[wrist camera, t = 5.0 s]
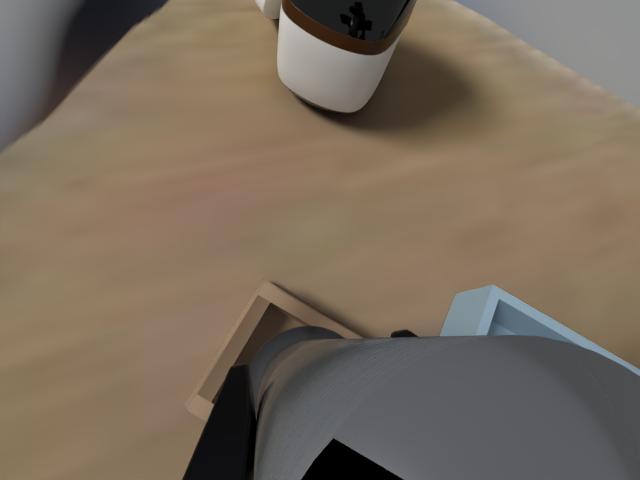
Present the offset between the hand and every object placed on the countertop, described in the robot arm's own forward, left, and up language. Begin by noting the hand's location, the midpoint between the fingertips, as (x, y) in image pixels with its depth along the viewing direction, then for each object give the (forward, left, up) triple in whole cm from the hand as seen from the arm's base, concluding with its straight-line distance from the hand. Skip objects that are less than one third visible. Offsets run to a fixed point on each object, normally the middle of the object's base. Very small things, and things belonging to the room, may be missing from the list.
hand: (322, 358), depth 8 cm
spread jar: (+9, -21, -13) cm, 26 cm away
